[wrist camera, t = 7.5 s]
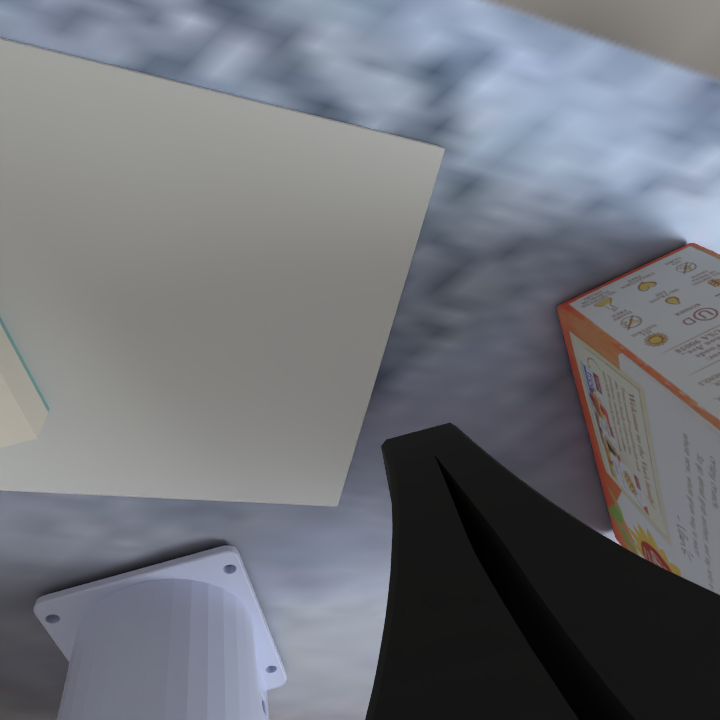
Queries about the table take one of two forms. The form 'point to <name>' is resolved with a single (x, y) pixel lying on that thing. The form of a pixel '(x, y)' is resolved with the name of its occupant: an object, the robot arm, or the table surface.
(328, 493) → the mat
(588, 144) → the table surface
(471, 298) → the table surface
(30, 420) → the tile
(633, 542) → the cracker box
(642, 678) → the robot arm
